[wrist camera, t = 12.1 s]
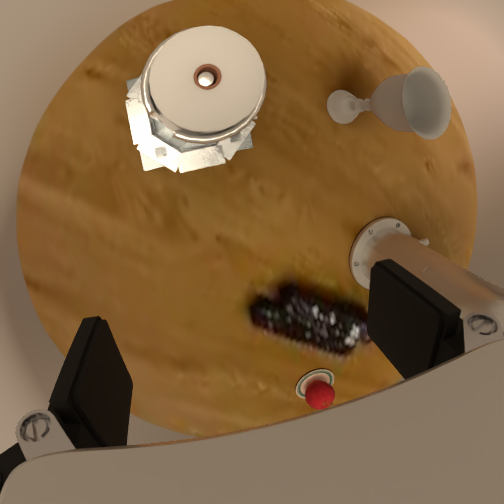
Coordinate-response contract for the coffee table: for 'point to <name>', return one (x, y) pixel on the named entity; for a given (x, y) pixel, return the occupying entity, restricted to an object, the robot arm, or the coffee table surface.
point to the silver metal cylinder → (204, 84)
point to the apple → (317, 388)
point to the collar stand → (175, 140)
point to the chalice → (401, 103)
